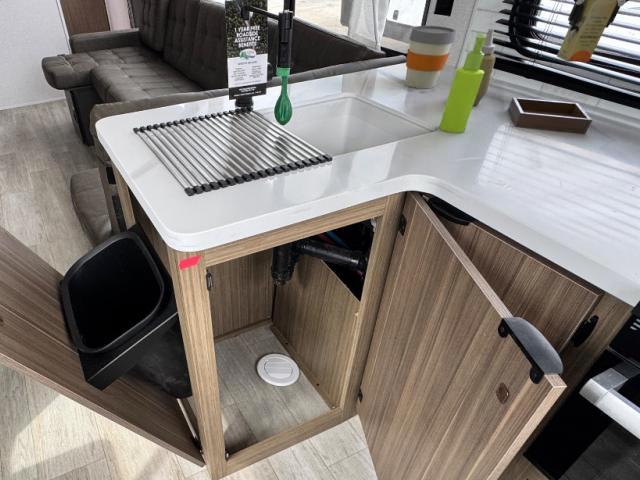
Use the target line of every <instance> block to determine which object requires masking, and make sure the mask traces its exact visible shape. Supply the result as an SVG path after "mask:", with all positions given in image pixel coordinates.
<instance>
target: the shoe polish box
mask: <svg viewBox="0 0 640 480" xmlns="http://www.w3.org/2000/svg"><path fill="white" fill-rule="evenodd" d="M617 2H618V0H584V2H583V5H584V7H583V9H582V12H581V14H580V16H579V18H578V21H577V23H576V25H574V26H571V25H569V27H568V29H567V32H566V34H565V37H564V38H563V41H562V43H561V46H560V48H559V50H558V53H557V55H556V57H557V58H559V59H561V60H563V61H565V62H571V63H572V62H573V63H574V62H575V63H577V62H579V63H589V62H590V61H591V58H592V57H593V54H594V53H595V50H596V48H597V46H598V44H599V41H600V39H601V38H602V35H603V33H604V31H605V29H606V28H605V27H606V25H607V23H608V21H609V19H610V17H611V15H612V13H613V11H614V8H615V6H616V4H617Z"/></svg>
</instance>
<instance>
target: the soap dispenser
mask: <svg viewBox="0 0 640 480" xmlns="http://www.w3.org/2000/svg"><path fill="white" fill-rule="evenodd" d="M485 39H486V33H485V34H484V33H477V34H476V36H475V42H474V45H473V48H472V50H470V51H468V52H467V54H466V57H465V60H464V64H463V66H462V67H458V68H456V70H455V74H454V77H453V80H452V83H451V87H450V90H449V94H448V97H447V99H446V102H445V107H444V109H443V114H442V115H441V119H440V124H439V130H442V131H443V132H446V133H453V134H459V133H463V132H465V130H466V128H467V124H468V122H469V118H470V115H471V112H472V109H473V108H474V105H473V104H474V101H475V98H476V95H477V92H478V89H479V86H480V83H481V81H482V78H483V75H484V71H483V70H480V69H479V68H480V65H481V62H482V59H483V56H484V53H482V52H481V49H482V46H483V43H484V41H485Z"/></svg>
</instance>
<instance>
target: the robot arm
mask: <svg viewBox="0 0 640 480" xmlns="http://www.w3.org/2000/svg"><path fill="white" fill-rule="evenodd" d="M583 2H584V0H573V3H574V4H573V6H572V9H571V11H570V13H569V16H568V18H567V21H568V25H569V26H570V25H571V26H574V25H576V23H577V21H578V18H579V16H580V14H581V12H582V9H583V7H584V5H583ZM628 2H630V0H618V2H617V4H616V6H615V8H614V11H613V13H612V15H611V17H610V19H609V21H608V23H607V25H606V27H605V29H606V28H607V29H608V28H609V27H610V24H613V22H614V21H615V19H616V17H617V15H618V13H619V10H620V9H621V7H623V6H624V5H625V4H626V3H628Z"/></svg>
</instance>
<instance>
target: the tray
mask: <svg viewBox="0 0 640 480" xmlns="http://www.w3.org/2000/svg"><path fill="white" fill-rule="evenodd" d="M507 111H508V115H509V116H510V118H511V120H512V123H513V125H514V127H515V128H523V129H525V128H526V129H534V130H545V131H554V132H563V133H574V134H583V135H586V133H587V131H588V129H589V128H590V126H591V124H592V122H593V119H592V117H591V116H590V115H589V114H588V113H587V112H586V110H585V109H584V108H583V107H582V106H581V105H580V104H579V102H570V101H559V100H548V99H547V100H546V99H537V98H536V99H535V98H525V97H514V96H513V97H512V98H511V101H510V103H509V106H508V107H507Z"/></svg>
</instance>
